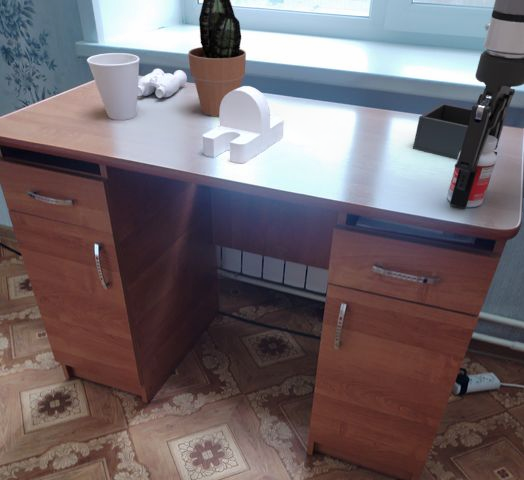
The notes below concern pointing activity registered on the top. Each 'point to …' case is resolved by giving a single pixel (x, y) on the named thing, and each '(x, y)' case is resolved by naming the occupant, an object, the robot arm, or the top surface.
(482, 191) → the pill bottle
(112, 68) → the cup
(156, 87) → the binoculars
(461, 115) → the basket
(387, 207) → the top surface
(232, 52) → the potted plant
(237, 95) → the bracket
